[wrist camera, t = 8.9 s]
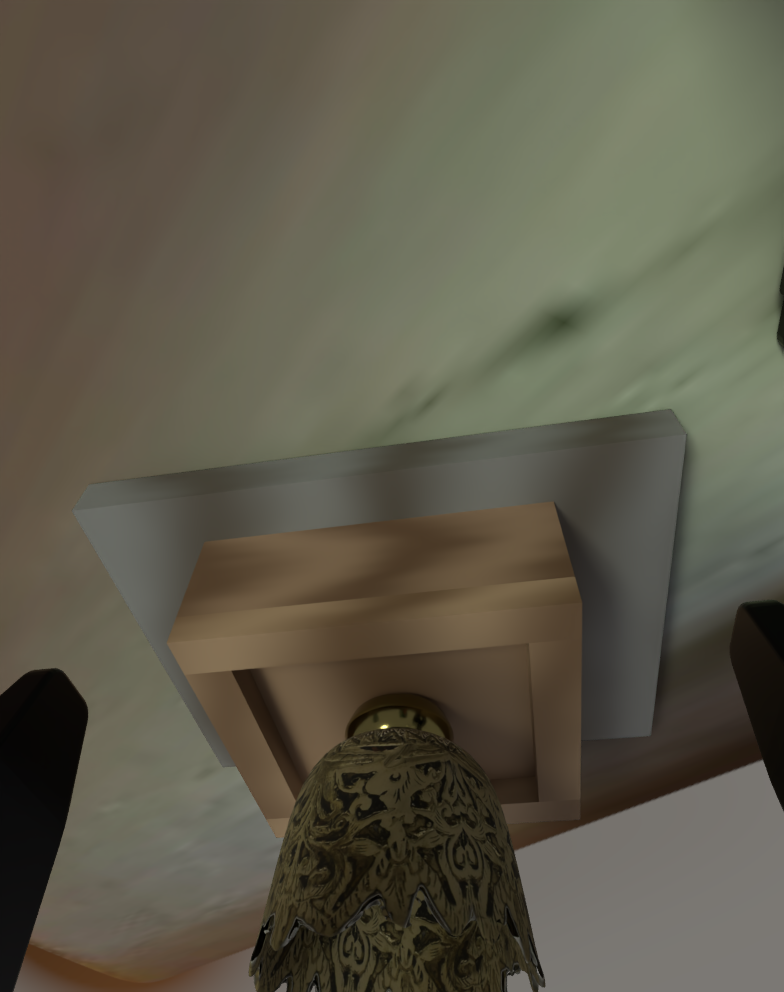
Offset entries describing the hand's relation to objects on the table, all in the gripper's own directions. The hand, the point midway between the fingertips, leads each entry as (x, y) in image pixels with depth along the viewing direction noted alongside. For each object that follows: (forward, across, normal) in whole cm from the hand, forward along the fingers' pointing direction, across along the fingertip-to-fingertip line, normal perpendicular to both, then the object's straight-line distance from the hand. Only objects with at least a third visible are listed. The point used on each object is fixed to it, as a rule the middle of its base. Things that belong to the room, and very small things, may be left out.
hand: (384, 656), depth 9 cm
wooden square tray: (+13, +2, +13) cm, 18 cm away
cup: (+8, +2, +13) cm, 15 cm away
